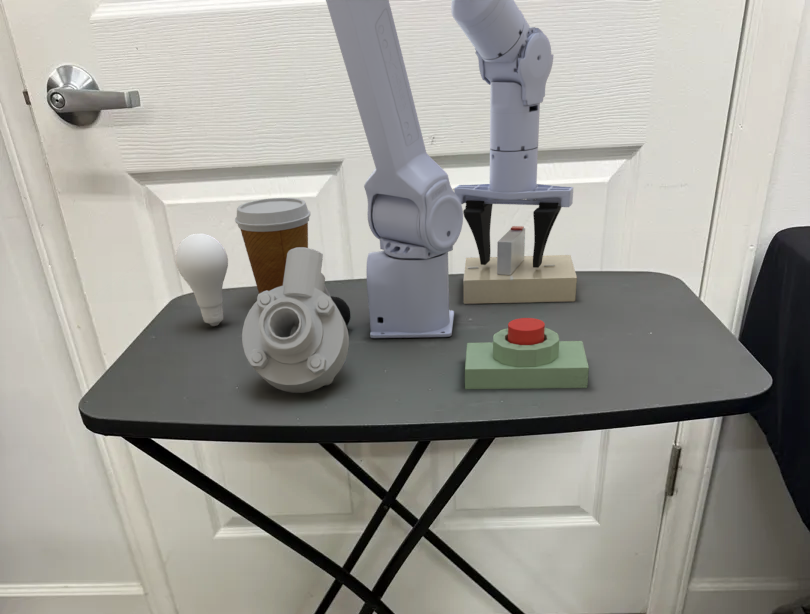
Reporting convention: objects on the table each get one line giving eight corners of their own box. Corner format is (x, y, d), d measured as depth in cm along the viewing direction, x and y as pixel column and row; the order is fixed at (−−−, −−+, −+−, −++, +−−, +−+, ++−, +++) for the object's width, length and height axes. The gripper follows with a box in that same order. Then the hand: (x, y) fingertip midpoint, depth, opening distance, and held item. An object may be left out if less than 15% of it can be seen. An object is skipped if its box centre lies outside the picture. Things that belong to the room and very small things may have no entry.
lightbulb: (249, 323, 97) (233, 231, 91) (208, 337, 93) (189, 243, 87) (220, 313, 100) (203, 225, 94) (180, 327, 97) (159, 236, 91)
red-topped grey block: (510, 275, 97) (511, 240, 95) (496, 274, 98) (497, 239, 95) (524, 259, 102) (525, 226, 100) (511, 259, 103) (511, 225, 100)
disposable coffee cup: (261, 289, 108) (246, 197, 101) (327, 289, 107) (317, 195, 100) (239, 312, 100) (222, 215, 93) (311, 312, 99) (298, 213, 92)
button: (507, 348, 76) (508, 330, 75) (507, 334, 79) (507, 318, 78) (544, 347, 76) (545, 330, 75) (543, 334, 79) (543, 317, 78)
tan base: (463, 305, 98) (463, 280, 96) (466, 278, 107) (465, 255, 105) (575, 303, 96) (577, 277, 95) (568, 276, 105) (570, 252, 104)
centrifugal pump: (364, 429, 92) (380, 307, 93) (330, 380, 72) (350, 227, 74) (280, 421, 93) (297, 301, 94) (225, 370, 74) (247, 220, 75)
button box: (465, 389, 77) (464, 351, 75) (467, 362, 83) (466, 326, 81) (587, 388, 76) (590, 349, 74) (580, 360, 82) (583, 323, 79)
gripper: (581, 142, 93) (573, 258, 100) (465, 142, 97) (466, 252, 105) (569, 152, 87) (561, 274, 95) (448, 151, 92) (450, 267, 100)
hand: (511, 264), depth 100 cm, fingers open, 6 cm apart
